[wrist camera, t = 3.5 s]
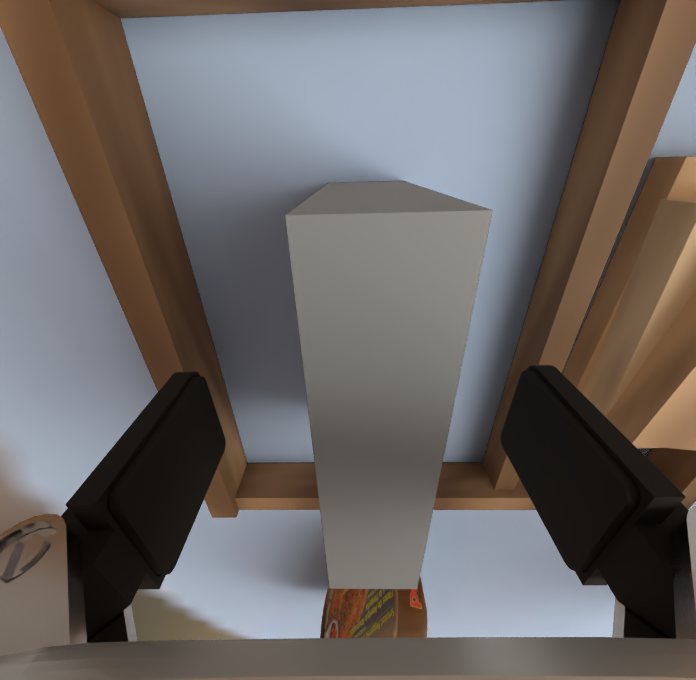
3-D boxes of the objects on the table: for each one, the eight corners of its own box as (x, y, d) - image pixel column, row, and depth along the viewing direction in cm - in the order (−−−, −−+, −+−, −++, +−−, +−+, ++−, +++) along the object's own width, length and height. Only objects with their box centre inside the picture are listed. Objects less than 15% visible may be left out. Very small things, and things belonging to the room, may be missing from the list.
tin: (383, 509, 23) (396, 666, 16) (419, 518, 24) (448, 673, 17) (320, 590, 30) (310, 724, 23) (349, 596, 31) (348, 728, 24)
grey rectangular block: (403, 180, 12) (492, 210, 4) (389, 406, 18) (417, 588, 10) (328, 182, 12) (285, 215, 4) (339, 407, 18) (329, 588, 10)
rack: (1062, -80, 9) (1372, -187, 6) (652, 473, 21) (695, 518, 18) (56, -35, 9) (-60, -112, 7) (229, 474, 21) (212, 517, 19)
